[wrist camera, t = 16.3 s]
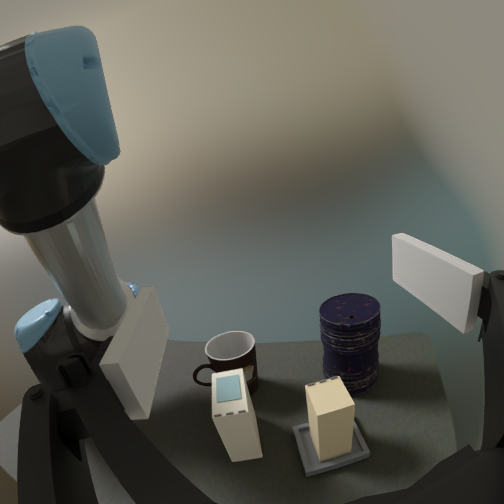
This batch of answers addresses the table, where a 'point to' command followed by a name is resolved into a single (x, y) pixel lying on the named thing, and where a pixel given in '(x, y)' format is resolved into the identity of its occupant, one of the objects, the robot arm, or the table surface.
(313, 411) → the cream rectangular block
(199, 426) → the table surface
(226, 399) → the cream box with panel
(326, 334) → the storage jar
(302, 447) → the tray
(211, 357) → the coffee mug
